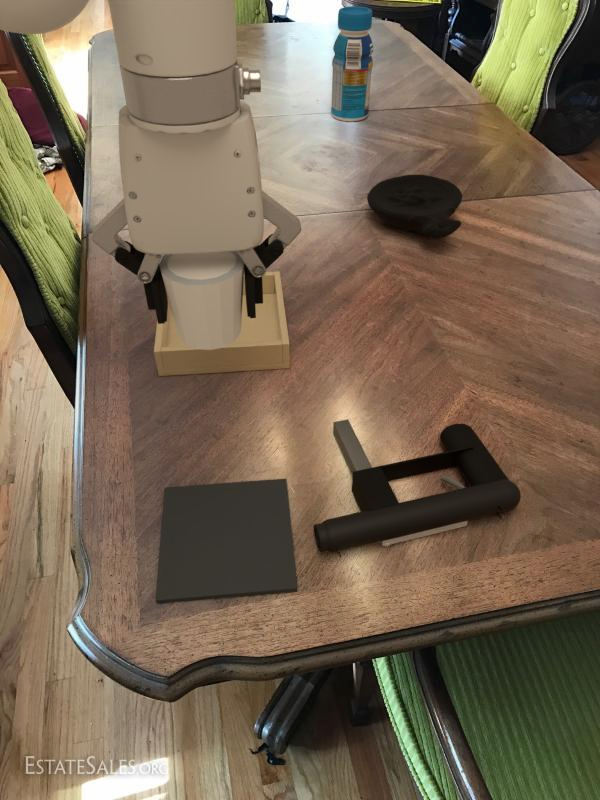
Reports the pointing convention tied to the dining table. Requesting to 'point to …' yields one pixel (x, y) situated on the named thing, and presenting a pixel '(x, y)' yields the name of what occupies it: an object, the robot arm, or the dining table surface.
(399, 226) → the black cap
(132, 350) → the dining table surface
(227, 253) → the shot glass
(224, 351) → the caddy
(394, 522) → the door handle
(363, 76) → the beverage bottle
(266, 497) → the mat
